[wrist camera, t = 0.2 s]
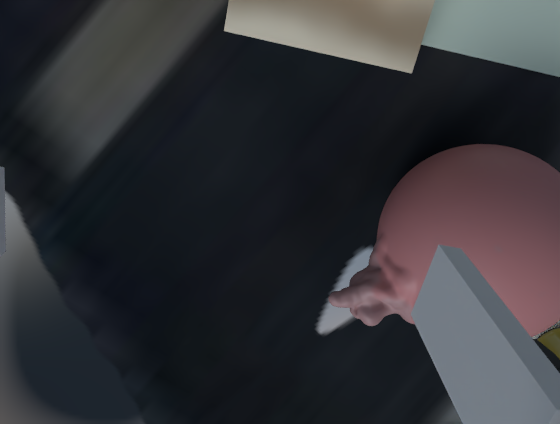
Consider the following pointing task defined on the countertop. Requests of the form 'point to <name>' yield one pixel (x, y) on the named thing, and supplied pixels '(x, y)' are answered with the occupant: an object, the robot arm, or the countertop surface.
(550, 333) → the plant pot
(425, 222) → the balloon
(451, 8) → the mat
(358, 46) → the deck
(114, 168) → the countertop surface
